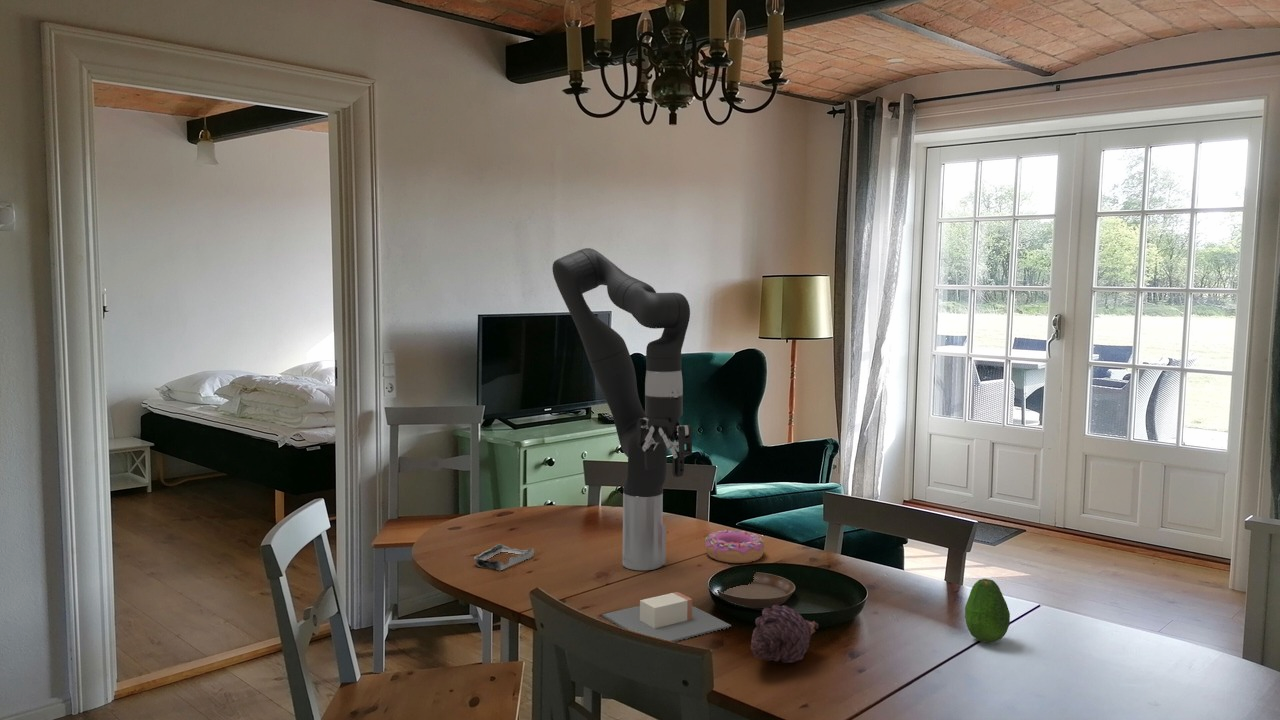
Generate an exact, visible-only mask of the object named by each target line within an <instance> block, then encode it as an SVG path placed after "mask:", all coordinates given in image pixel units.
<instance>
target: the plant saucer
mask: <svg viewBox="0 0 1280 720" xmlns="http://www.w3.org/2000/svg"><path fill="white" fill-rule="evenodd" d="M753 577H754V578H753V579H754V580H753V582H751V584H750V583H749V584H748V585H740V586H736V587H733V588H729V589H727V590H726V591H724V593H723V592H721V591H719V590H717V591H718V593H719V595H720V596H721V597H722V598H724V599H726V600H727V601H730V602H733V603H736V604H739V605H744V606H747V607H751V608H750V609H764V608H772V606H773V605H779V606H782V605H783V604H784V603H785V602H786V601H788V599H789V598H790V597H791V596H792V595H793V593H794V592H795V591H796V585H795V584H794V582H792V581H791V580H789V579H787V578H785V577H783V576H779V575H776V574H772V573H766V572H759V571H758V572H757V571H756V573H755V574H754V576H753Z"/></svg>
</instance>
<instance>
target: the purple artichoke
mask: <svg viewBox="0 0 1280 720" xmlns="http://www.w3.org/2000/svg"><path fill="white" fill-rule="evenodd" d="M754 624H755V627H754V628H753V631H752V635H751V644H750V649H751V652H752V654H753V655H754V658H755V659H759V660H765V661H773V662H778V661H781V662H782V663H784V664H786V663H791V664H792V663H795V662H797V661H801V660H803V659H804V657H805V654H806V653H807V651H808V648H809V647H810V641H811V638H812V635H813V634H814V633H815V632H816V630H818V629H819V623H818V622H816V621H815V620H813V621H810V620H807V619H804V617H803V616H802V615H801V614H800V613H799V612H798V611H796V609H794V608H791V607H790V606H788V605H783V604H782V605H773V606H772V607H769V608H762V610H761V615H760V616H758V617H756V618H755V621H754Z"/></svg>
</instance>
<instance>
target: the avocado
mask: <svg viewBox="0 0 1280 720" xmlns="http://www.w3.org/2000/svg"><path fill="white" fill-rule="evenodd" d="M1010 615H1011V612H1010V610H1009V607H1008V603H1007V602H1006V600H1005V597H1004V595H1003V593H1002V591H1001V589H1000V587H999V584H998V583H996V582H995V581H994V580H993V579H990V578H981V579H978V580H977V581H976V582H975V583H974V585H972V587H971V590H970V593H969V596H968V598H967V601H966V604H965V606H964V619H965V623H966V627H967V630H968V631H969V633H970V635H971V637H973V638H974V639H975V640H977V641H978V642H982V643H989V644H991V643H995V642H998V641H1000V640H1001V639H1002V638H1004V637H1005V635H1006V634H1007V632H1008V630H1009V627H1010V623H1011V619H1010V618H1011V616H1010Z"/></svg>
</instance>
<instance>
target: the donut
mask: <svg viewBox="0 0 1280 720" xmlns="http://www.w3.org/2000/svg"><path fill="white" fill-rule="evenodd" d="M704 538H705V541H704V545H705V546H704V548H705V551H706V554H707V555H708V556H709V557H710V558H711V559H713V560H716V561H718V562H723V563H729V564H747V563H752V561H753V562H756V561H758V560H760V559H761V558H762V556H764V551H765V545H764V540H762V539H763V538H762V536H759V535H757V534H755V533H752V532H748V531H745V530H736V529H730V530H729V529H725V530H719V531H713V532H711V533H709V534H707V536H706V537H704Z"/></svg>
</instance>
